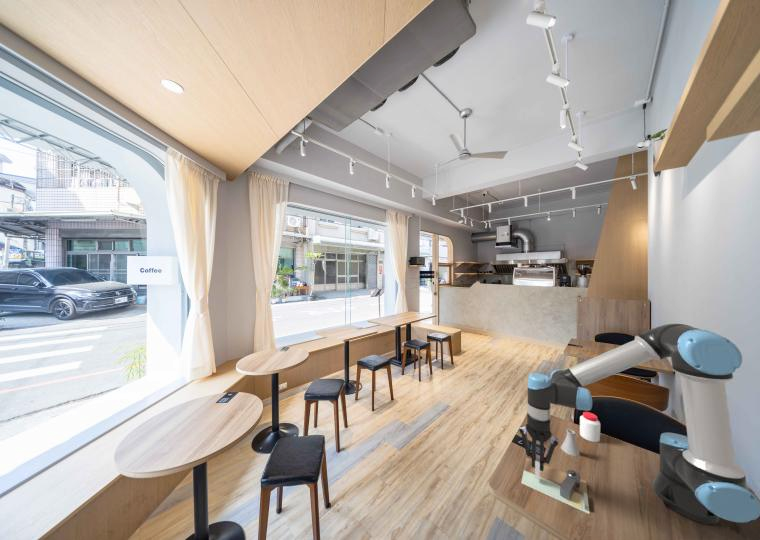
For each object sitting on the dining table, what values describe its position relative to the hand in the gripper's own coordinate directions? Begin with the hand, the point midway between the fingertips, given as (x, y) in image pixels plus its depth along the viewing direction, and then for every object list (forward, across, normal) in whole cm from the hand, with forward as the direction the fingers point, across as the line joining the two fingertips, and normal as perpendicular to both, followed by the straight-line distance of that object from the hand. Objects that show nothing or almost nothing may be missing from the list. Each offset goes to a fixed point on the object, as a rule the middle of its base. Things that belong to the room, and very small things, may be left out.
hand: (537, 476), depth 97 cm
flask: (+3, -11, -28) cm, 30 cm away
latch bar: (+1, -10, -3) cm, 10 cm away
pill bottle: (+3, -19, -48) cm, 52 cm away
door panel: (+3, -5, +1) cm, 6 cm away
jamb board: (+3, -5, -7) cm, 9 cm away
